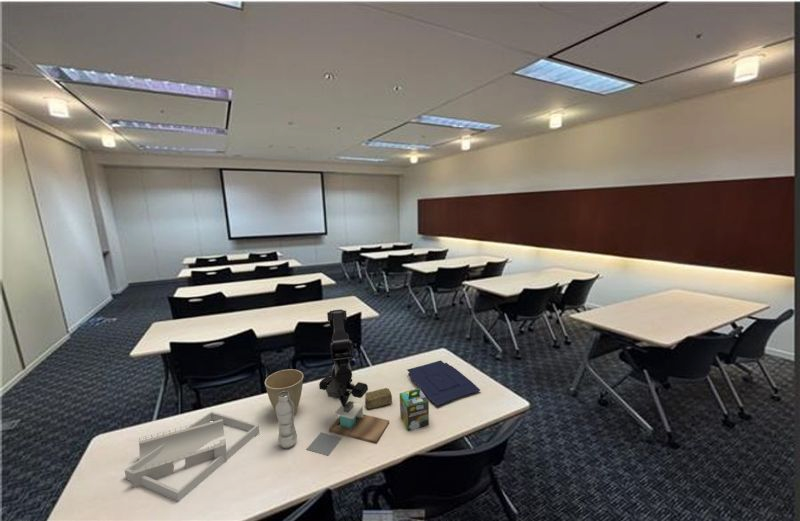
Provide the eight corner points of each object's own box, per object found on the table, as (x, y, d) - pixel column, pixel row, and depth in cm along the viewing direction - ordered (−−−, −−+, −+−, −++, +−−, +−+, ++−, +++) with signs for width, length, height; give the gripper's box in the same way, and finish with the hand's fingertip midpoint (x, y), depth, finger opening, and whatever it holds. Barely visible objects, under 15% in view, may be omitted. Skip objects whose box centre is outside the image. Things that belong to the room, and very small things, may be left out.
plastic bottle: (280, 453, 110) (275, 401, 107) (277, 441, 116) (272, 391, 113) (299, 447, 113) (294, 396, 110) (295, 435, 119) (291, 386, 116)
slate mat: (306, 450, 112) (306, 449, 111) (321, 433, 120) (321, 432, 120) (328, 457, 108) (328, 455, 108) (341, 439, 117) (341, 437, 117)
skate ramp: (223, 430, 122) (222, 408, 120) (226, 466, 107) (225, 441, 105) (141, 454, 109) (138, 429, 107) (131, 499, 94) (127, 471, 92)
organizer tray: (126, 480, 101) (124, 469, 100) (212, 420, 129) (211, 411, 128) (179, 504, 92) (177, 493, 91) (259, 434, 120) (258, 424, 119)
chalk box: (420, 412, 131) (420, 380, 128) (429, 427, 122) (429, 392, 120) (399, 418, 128) (398, 384, 125) (407, 433, 119) (406, 397, 117)
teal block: (340, 427, 123) (339, 413, 122) (346, 420, 127) (345, 406, 126) (350, 430, 121) (349, 416, 120) (356, 422, 125) (355, 409, 124)
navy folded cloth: (443, 364, 169) (443, 357, 169) (480, 395, 143) (481, 388, 142) (403, 375, 159) (403, 368, 158) (435, 411, 132) (435, 403, 132)
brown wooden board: (329, 432, 120) (328, 428, 120) (345, 413, 131) (345, 409, 131) (376, 445, 113) (376, 441, 113) (389, 423, 124) (389, 420, 124)
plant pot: (272, 430, 122) (268, 393, 119) (265, 410, 134) (261, 375, 132) (310, 416, 130) (307, 380, 127) (300, 398, 142) (297, 365, 140)
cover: (335, 425, 121) (334, 408, 120) (345, 412, 129) (344, 396, 127) (353, 430, 119) (352, 412, 117) (363, 416, 126) (362, 400, 125)
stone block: (393, 403, 136) (392, 393, 134) (367, 411, 132) (365, 401, 131) (389, 395, 141) (388, 385, 140) (364, 402, 138) (363, 392, 137)
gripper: (309, 375, 117) (311, 413, 119) (353, 384, 110) (355, 424, 112) (326, 361, 127) (328, 397, 129) (367, 369, 120) (369, 406, 123)
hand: (344, 406), depth 123 cm, fingers closed
